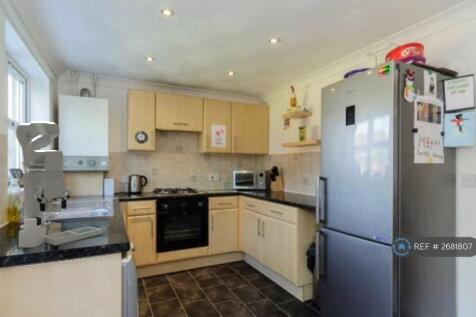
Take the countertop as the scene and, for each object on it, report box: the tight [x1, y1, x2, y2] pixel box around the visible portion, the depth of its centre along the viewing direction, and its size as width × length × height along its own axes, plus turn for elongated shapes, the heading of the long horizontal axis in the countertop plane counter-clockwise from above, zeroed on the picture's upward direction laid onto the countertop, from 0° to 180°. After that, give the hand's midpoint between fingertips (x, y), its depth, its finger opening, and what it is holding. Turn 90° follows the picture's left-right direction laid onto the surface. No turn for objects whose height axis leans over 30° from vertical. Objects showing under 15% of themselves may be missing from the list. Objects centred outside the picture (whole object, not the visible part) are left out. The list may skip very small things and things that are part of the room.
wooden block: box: [45, 222, 62, 235], centre depth 137 cm, size 5×5×6 cm
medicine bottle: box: [18, 217, 47, 249], centre depth 122 cm, size 7×7×12 cm
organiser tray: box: [45, 226, 103, 246], centre depth 134 cm, size 12×22×2 cm, turn 151°
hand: (53, 209), depth 137 cm, fingers open, 9 cm apart
